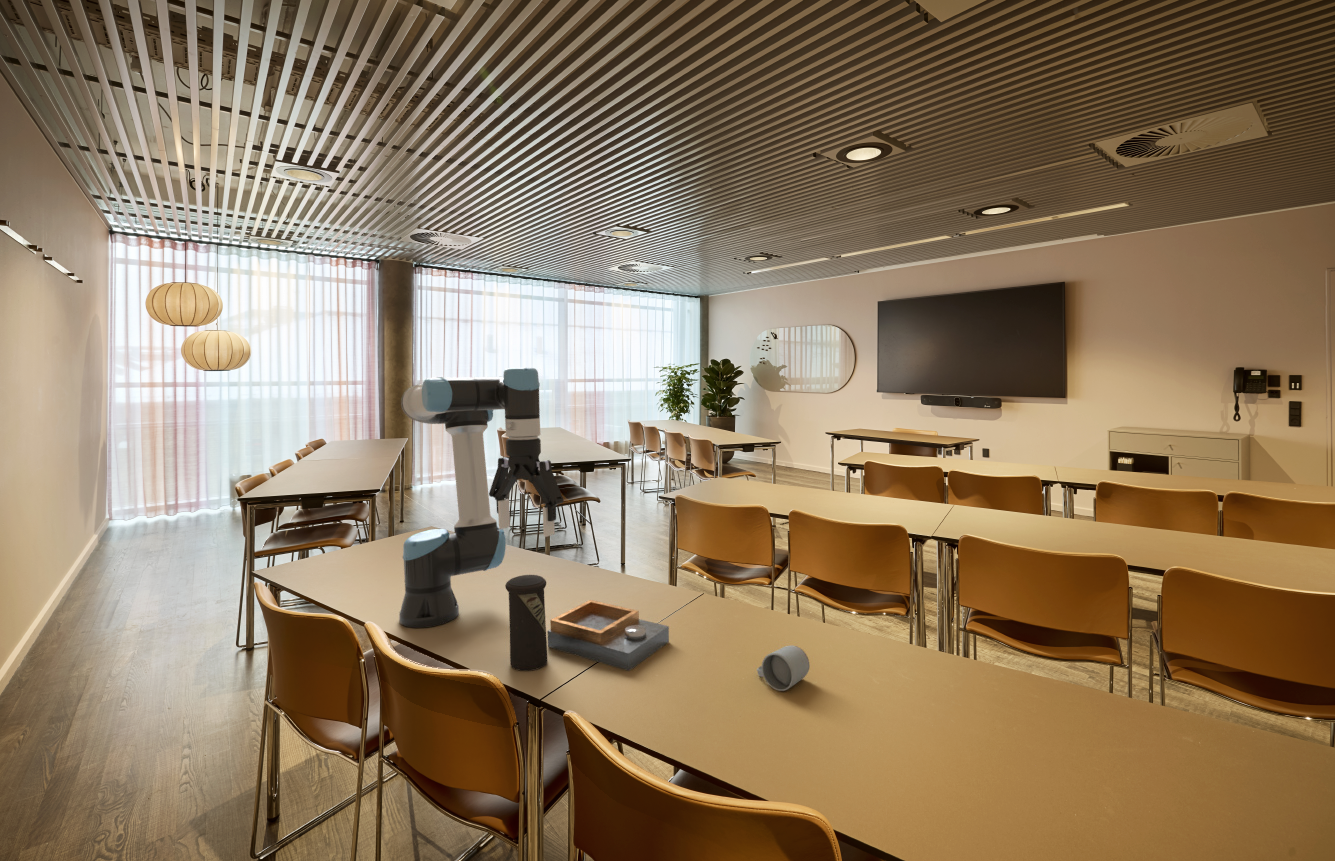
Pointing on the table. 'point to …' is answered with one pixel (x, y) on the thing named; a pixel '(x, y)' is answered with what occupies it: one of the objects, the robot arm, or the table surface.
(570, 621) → the framed panel with knob
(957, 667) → the table surface
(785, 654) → the ceramic mug
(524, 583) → the container
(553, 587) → the table surface
